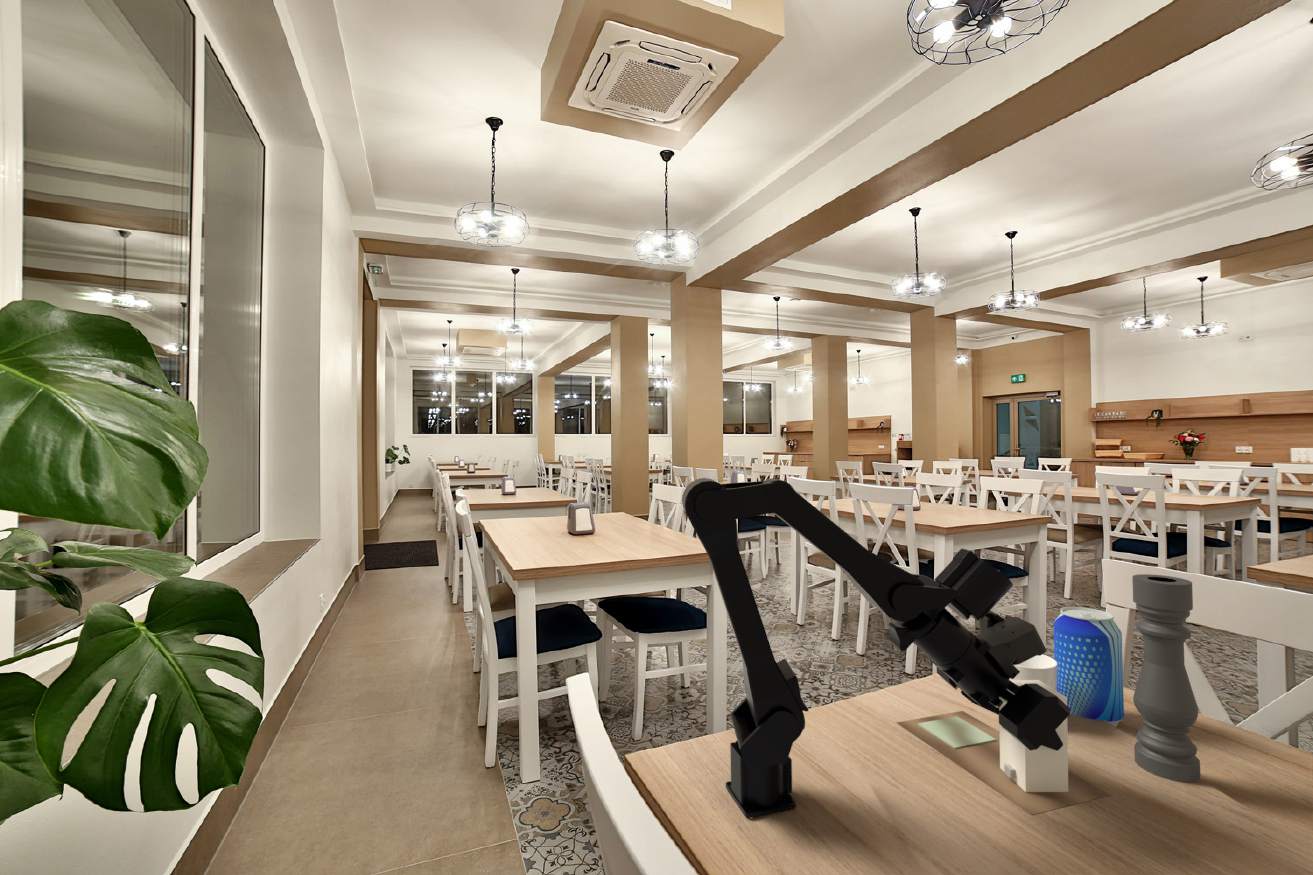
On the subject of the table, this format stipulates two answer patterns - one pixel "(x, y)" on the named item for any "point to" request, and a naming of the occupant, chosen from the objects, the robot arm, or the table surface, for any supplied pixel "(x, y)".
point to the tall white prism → (1035, 756)
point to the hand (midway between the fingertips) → (1044, 735)
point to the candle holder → (1165, 679)
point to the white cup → (1039, 670)
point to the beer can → (1090, 663)
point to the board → (993, 761)
